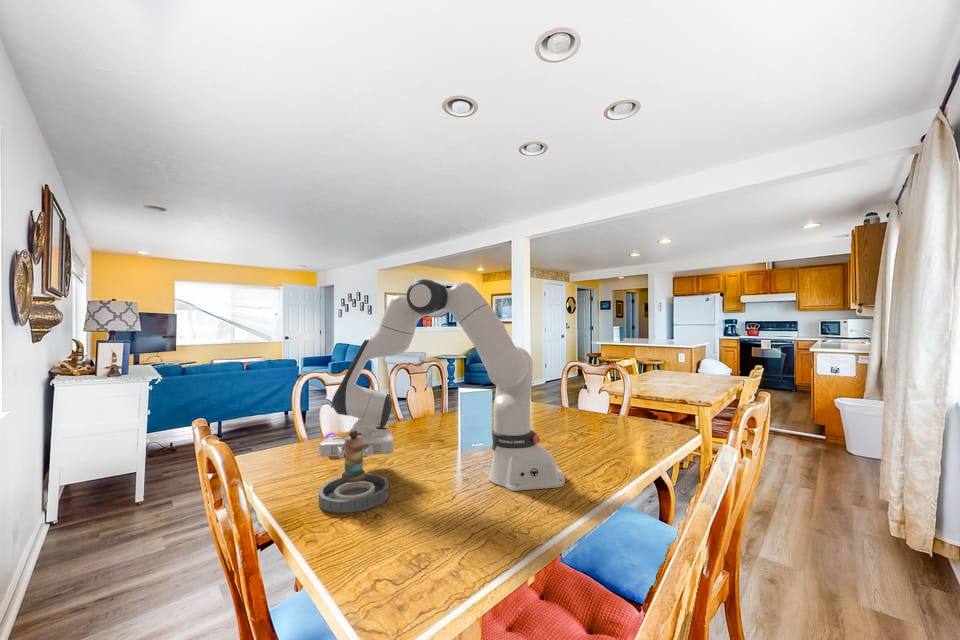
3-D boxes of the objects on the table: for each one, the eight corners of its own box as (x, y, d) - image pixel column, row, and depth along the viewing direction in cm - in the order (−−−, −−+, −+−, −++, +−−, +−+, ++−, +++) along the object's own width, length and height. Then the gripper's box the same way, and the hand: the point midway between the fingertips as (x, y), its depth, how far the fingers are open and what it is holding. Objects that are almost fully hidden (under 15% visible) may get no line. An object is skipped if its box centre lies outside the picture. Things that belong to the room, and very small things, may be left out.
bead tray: (396, 484, 115) (396, 473, 115) (377, 514, 97) (377, 502, 97) (335, 483, 116) (335, 473, 116) (305, 513, 98) (305, 501, 98)
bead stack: (368, 473, 109) (368, 427, 109) (360, 482, 103) (360, 433, 103) (346, 473, 110) (346, 427, 110) (338, 482, 104) (338, 433, 104)
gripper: (325, 430, 118) (312, 444, 104) (395, 427, 121) (391, 441, 107) (325, 451, 118) (312, 468, 104) (395, 448, 121) (391, 464, 107)
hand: (353, 455), depth 105 cm, fingers closed on bead stack, 5 cm apart
